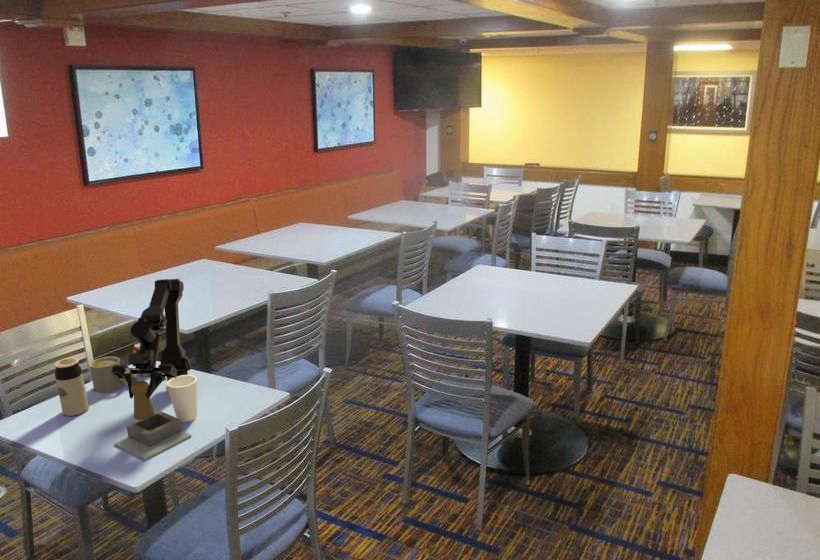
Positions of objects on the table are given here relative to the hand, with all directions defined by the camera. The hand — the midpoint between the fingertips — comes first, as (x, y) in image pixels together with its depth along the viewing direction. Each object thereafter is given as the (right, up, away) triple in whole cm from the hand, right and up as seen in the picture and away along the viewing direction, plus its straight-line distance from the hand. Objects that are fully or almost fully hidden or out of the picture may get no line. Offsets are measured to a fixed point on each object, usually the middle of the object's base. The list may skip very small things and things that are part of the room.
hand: (139, 398), depth 203 cm
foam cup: (+9, -9, +15) cm, 20 cm away
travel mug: (-31, -9, +22) cm, 39 cm away
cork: (0, -6, +3) cm, 7 cm away
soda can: (-17, 0, +50) cm, 53 cm away
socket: (+4, -13, +2) cm, 14 cm away
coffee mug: (-26, -3, +39) cm, 47 cm away
